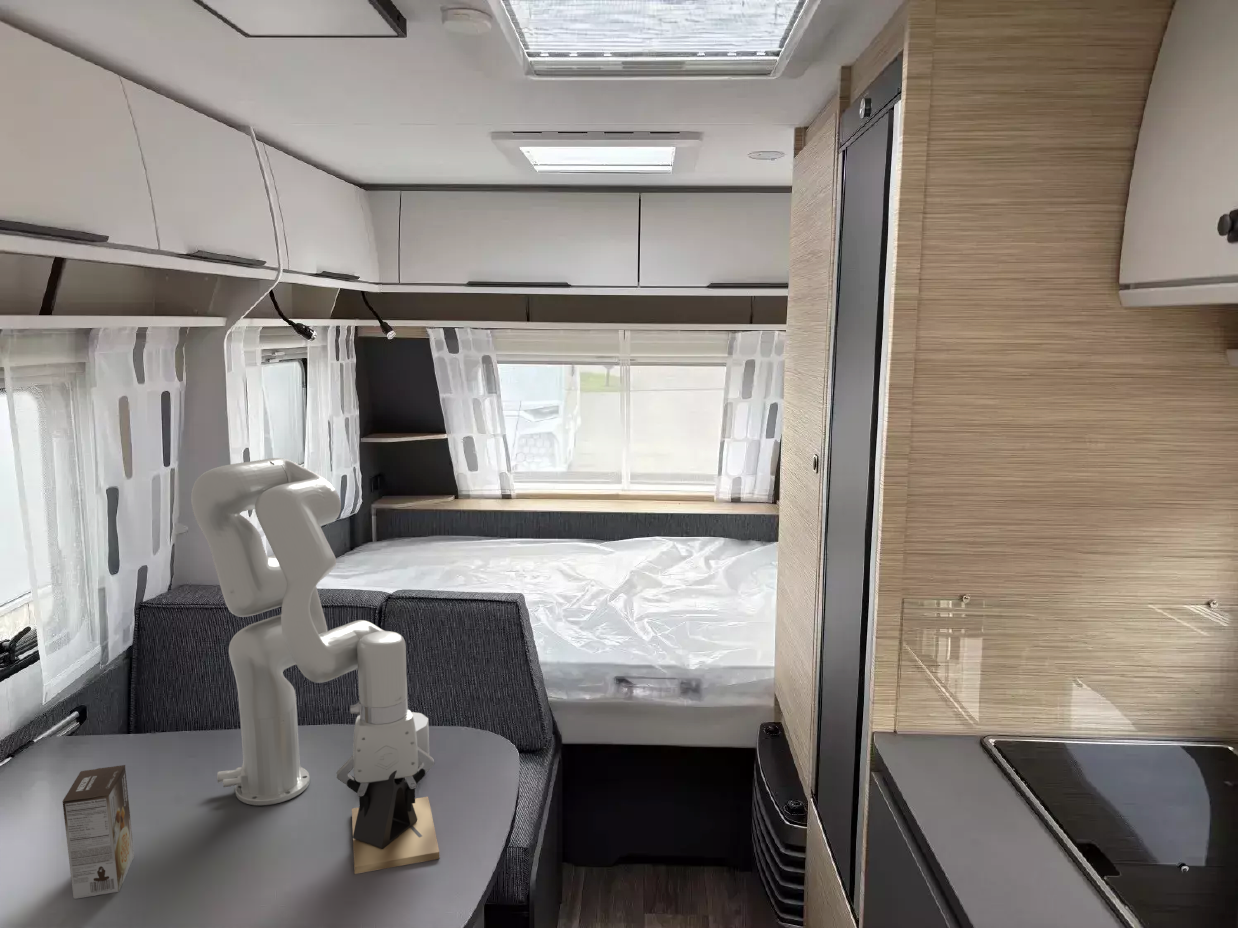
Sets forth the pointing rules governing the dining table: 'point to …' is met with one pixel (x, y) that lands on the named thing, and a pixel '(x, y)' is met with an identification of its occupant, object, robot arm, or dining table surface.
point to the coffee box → (98, 831)
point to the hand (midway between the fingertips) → (387, 809)
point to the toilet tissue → (421, 732)
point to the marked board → (400, 843)
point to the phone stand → (384, 813)
